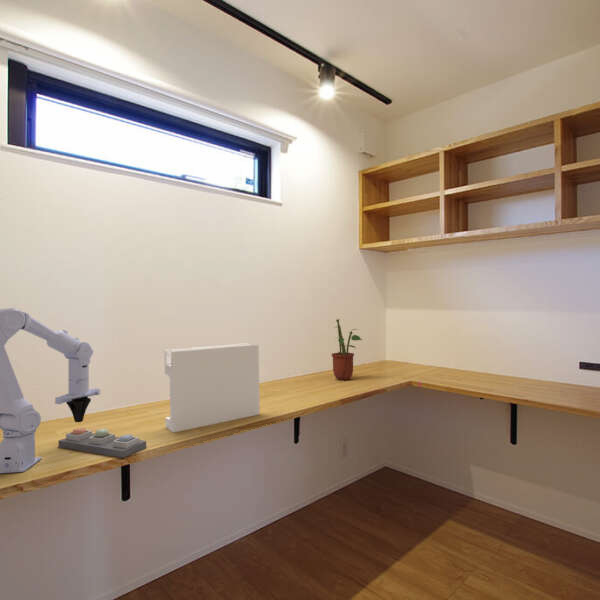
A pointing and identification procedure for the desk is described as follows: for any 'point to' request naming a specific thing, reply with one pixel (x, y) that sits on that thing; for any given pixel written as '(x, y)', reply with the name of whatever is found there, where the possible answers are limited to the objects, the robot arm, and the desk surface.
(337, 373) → the potted plant
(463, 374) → the desk surface
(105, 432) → the sage button
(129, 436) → the slate button
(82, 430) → the terracotta button
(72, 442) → the button panel
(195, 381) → the block
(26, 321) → the robot arm
